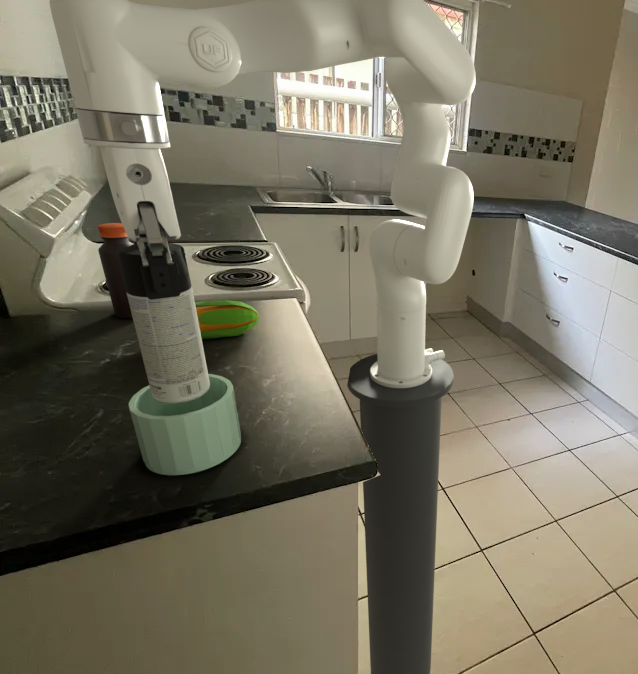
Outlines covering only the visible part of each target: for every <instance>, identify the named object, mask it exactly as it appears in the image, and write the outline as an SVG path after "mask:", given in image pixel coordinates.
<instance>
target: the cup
mask: <svg viewBox="0 0 638 674" xmlns="http://www.w3.org/2000/svg"><path fill="white" fill-rule="evenodd" d="M208 376H209V381H210V386H209V390H208V391H207V392H206V393H205V394H204V395H202V396H200V397H199V398H197V399H195V400H192V401H188V402H184V403H174V404H165V403H160V402H157V401H156V400H155V399H154V398H153V396H152V393H151V390H150V385H149V384H148V385H147V386H144V387H142V388H141V389H140V390H138V391H136V393H134V394H133V395H132V396H131V398H130V400H129V402H128V404H127V405H128V409H129V413H130V418H131V420H132V424H133V427H134V432H135V435H136V439H137V442H138V443H137V444H138V447H139V451H140V453H141V457H142V462H143V463H144V466H145V467H146V468H147V469H148V470H149V471H150V472H152V473H154V474H155V473H156V474H158V475H162V476H183V475H185V476H186V475H190V474H195V473H200V472H203V471H206V470H208V469H211V468H214V467H215V466H217V465H220V464H221V463H223V462H224V461H226V460H228V459H229V458H231V457H232V456H233V455H234V454H235V453H236V452H237V451H238V449H239V448H240V446H241V442H242V432H241V426H240V425H241V424H240V419H239V414H238V407H237V402H236V395H235V389H234V385H233V384H232V382H231V380H229V379H228V378H226V377H224V376H222V375H218V374H214V373H208Z"/></svg>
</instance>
